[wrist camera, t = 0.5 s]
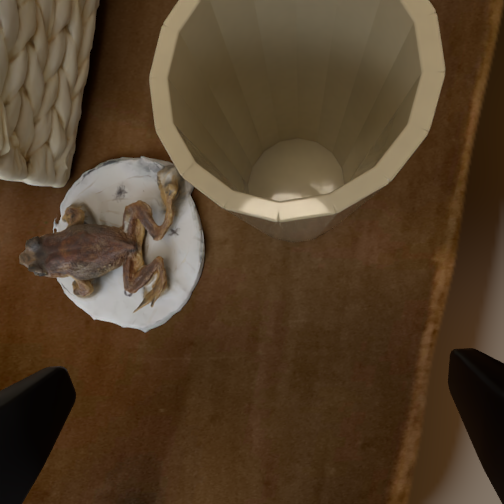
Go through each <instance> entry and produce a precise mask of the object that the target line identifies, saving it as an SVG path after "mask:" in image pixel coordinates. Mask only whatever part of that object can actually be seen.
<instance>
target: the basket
mask: <svg viewBox="0 0 504 504" xmlns="http://www.w3.org/2000/svg"><path fill="white" fill-rule="evenodd" d="M99 1H100V0H0V179H2V180H6V181H20V182H25V183H26V184H29V185H34V186H52V187H54V188H60V187H64V186H65V185H66V183H67V181H68V179H69V177H70V170H71V165H72V160H73V154H74V153H75V147H76V144H75V140H76V135H77V129H78V122H79V120H80V118H81V113H82V111H81V104H82V97H83V91H84V86H85V85H86V81H87V76H88V71H89V57H90V51H91V49H92V45H93V38H94V32H95V23H96V11H97V8H98V7H99Z"/></svg>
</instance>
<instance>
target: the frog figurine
mask: <svg viewBox="0 0 504 504" xmlns="http://www.w3.org/2000/svg"><path fill="white" fill-rule="evenodd" d="M193 189H194V186H193V185H191V184H190V183H189V182H187V181H186V180H185V179H183V177H182V176H181V175H180V174H179V172H178V170H177V168H176V167H175V165H174V164H172V163H171V162H167V161H163V160H158V159H152V158H146V157H144V156H141V157H140V158H126V157H122V158H119V159H111V160H108V161H106V162H103V163H100V164H99V165H97V166H96V167H95V168H93V169H91V170H88V171H86V172H85V173H83V174H82V175H81V177H80V178H79V179H78V180H77V181H76V182H74V184H73V186H72V187H71V188H70V189H69V191H68V192H67V194H66V195H65V198H64V200H63V202H62V203H61V206H60V210H61V218H60V221H59V224H56V223H55V220H54V228H56V229H57V232H55V233H54V228H53V233H52V234H46V235H43V236H41V237H38V236H37V237H33V238H32V239H29V241H28V240H27V242H26V246H25V247H26V249H25V250H24V252H22V253H21V255H20V256H19V259H20V264H22V265H25V266H26V267H28V270H29V271H31V272H34V274H35V275H38V276H46V277H53V278H57V280H58V282H59V283H60V284H61V286H62V288H63V290H64V293H65V294H66V295H67V296H68V298H70V299H71V300H72V301H73V302H74V303H75V304H76V305H77V306H78V307H79V308H82V309H83V310H84V311H85V312H87V313H88V314H89V315H90V316H91V317H92V318H93V319H94V320H95V319H98V320H102V321H108V322H112V323H116V324H118V325H120V326H121V327H124V328H125V327H130V328H136V329H139V330H142V331H144V332H147V331H149V330H150V329H153V328H155V327H158V326H160V325H162V324H164V323H166V322H167V321H168V320H169V319H170V318H171V317H172V315H173V314H175V313H176V312H179V311H180V310H181V309H182V307H183V306H184V305H185V304H186V303H187V301H188V300H189V298H190V296H191V294H192V293H191V292H192V291H193V290H194V288H195V286H196V285H197V282H198V281H199V278H200V276H201V273H202V268H203V264H204V256H205V245H204V235H203V230H202V225H201V221H200V217H199V215H198V212H197V209H196V206H195V204H194V201H193V200H192V197H191V193H192V191H193Z"/></svg>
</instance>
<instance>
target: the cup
mask: <svg viewBox="0 0 504 504" xmlns="http://www.w3.org/2000/svg"><path fill="white" fill-rule="evenodd" d="M149 76H150V78H149V83H150V91H151V99H152V107H153V115H154V123H155V130H156V133H157V135H158V137H159V138H160V140H161V142H162V144H163V145H164V147H165V149H166V151H167V152H168V154H169V156H170V158H171V160H172V161H173V163H174V165H175V167H176V168H177V170H178V172H179V174H180V175H181V176H182V177H183V179H185V180H186V181H187V182H189V183H190V184H191V185H193V186H194V187H195V188H197V189H198V190H199V191H200V192H202V193H203V194H204V195H206V196H207V197H208V198H210V199H211V200H212V201H214V202H215V203H216V204H218V205H219V206H220V207H221V208H223V209H225V210H226V211H228V212H230V213H231V214H233V215H235V216H236V217H238V218H240V219H241V220H243V221H245V222H247V223H248V224H250V225H252V226H253V227H255V228H257V229H258V230H260V231H262V232H263V233H265V234H267V235H268V236H270V237H273V238H277V239H280V240H284V241H288V242H299V241H306V240H313V239H315V238H317V237H319V236H321V235H323V234H324V233H326V232H327V231H329V230H331V229H333V228H334V227H335V226H336V225H338V224H339V223H340V222H341V221H343V220H344V219H345V218H346V217H348V216H349V215H350V214H351V213H353V212H354V211H355V210H356V209H358V208H359V207H360V206H361V205H363V204H364V203H365V202H366V201H368V200H369V199H370V198H371V197H373V196H374V195H375V194H376V193H378V192H379V191H380V190H381V189H383V188H384V187H385V186H386V185H388V183H390V182H391V181H392V180H393V179H394V177H395V176H396V175H397V174H398V172H399V171H400V170H401V168H402V167H403V166H404V165H405V163H406V162H407V161H408V159H409V158H410V157H411V156H412V154H413V153H414V152H415V151H416V149H417V148H418V147H419V145H420V144H421V143H422V142H423V140H424V139H425V138H426V136H427V135H428V132H429V131H430V128H431V124H432V121H433V117H434V114H435V110H436V106H437V103H438V99H439V96H440V92H441V88H442V85H443V81H444V78H445V63H444V56H443V50H442V43H441V36H440V30H439V23H438V17H437V13H436V11H435V9H434V7H433V6H432V4H431V3H430V1H429V0H178V2H177V3H176V5H175V6H174V8H173V9H172V11H171V12H170V14H169V15H168V17H167V18H166V20H165V21H164V23H163V26H162V27H161V31H160V35H159V39H158V43H157V47H156V51H155V55H154V59H153V63H152V67H151V71H150V75H149Z"/></svg>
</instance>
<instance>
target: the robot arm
mask: <svg viewBox="0 0 504 504" xmlns="http://www.w3.org/2000/svg"><path fill="white" fill-rule="evenodd" d="M448 385H449V389H450V393H451V395H452V397H453V400H454V402H455V404H456V407H457V409H458V411H459V414H460V416H461V418H462V421H463V423H464V425H465V428H466V430H467V432H468V434H469V437H470V439H471V441H472V444H473V446H474V448H475V450H476V453H477V455H478V457H479V460H480V462H481V464H482V466H483V468H484V470H485V472H486V474H487V476H488V478H489V480H490V482H491V484H492V485H493V487H494V489H495V491H496V492H497V495H498V496H499V498H500V500H501V502H502V504H504V363H502V362H500V361H498V360H496V359H494V358H492V357H490V356H488V355H486V354H484V353H482V352H480V351H478V350H476V349H473V348H467V349H454V350H453V351H451V354H450V362H449V375H448ZM75 399H76V392H75V389H74V386H73V384H72V381H71V379H70V376H69V374H68V371H67V369H65V368H64V367H61V366H57V367H47V368H44V369H42V370H40V371H38V372H36V373H34V374H32V375H30V376H29V377H27V378H25V379H23V380H21V381H19V382H17V383H15V384H13V385H11V386H9V387H7V388H5V389H3V390H1V391H0V504H22V503H23V501H24V499H25V498H26V496H27V494H28V493H29V491H30V489H31V487H32V486H33V484H34V482H35V481H36V479H37V477H38V475H39V473H40V472H41V470H42V468H43V466H44V464H45V462H46V460H47V458H48V456H49V455H50V452H51V450H52V448H53V446H54V444H55V442H56V440H57V438H58V436H59V434H60V432H61V430H62V428H63V426H64V423H65V421H66V419H67V417H68V415H69V413H70V411H71V409H72V407H73V405H74V403H75Z"/></svg>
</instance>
